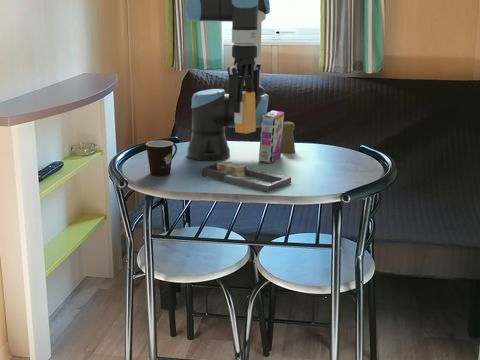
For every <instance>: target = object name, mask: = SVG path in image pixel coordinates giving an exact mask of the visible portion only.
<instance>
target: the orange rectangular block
mask: <svg viewBox="0 0 480 360" xmlns="http://www.w3.org/2000/svg"><path fill="white" fill-rule="evenodd" d="M241 102H243V124H239V123H235V127H234V129H235V130H234V131H235V133H239V134H245V135H247V134H250V133H254V132H256V131H257V127H256V115H255V92H247V91H243V92H242V99H241Z"/></svg>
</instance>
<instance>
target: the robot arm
mask: <svg viewBox="0 0 480 360" xmlns="http://www.w3.org/2000/svg"><path fill="white" fill-rule="evenodd" d="M270 4H271V3H270V0H185V17H186V20H187V21H189V22H196V23H198V22H222V23H223V22H224V23H225V22H231V24H232V26H231V27H232V28H231V43H232V44H233V45H232V46H231V57H232V58H233V59H234V62H233V65H232V66H230V67H229V66H228V67H227V74H228V93H226V90H225V89H223V88H211V89H204V90H200V91H197V92H195V93H193V95H191V96H192V97H191V106H190V109H191V136H190V140H189V143H188V147H187V150H186V153H187V154H186V155H187V157H188V158H189V159H192V160H195V161H196V160H197V161H210V162H211V161H219V160H225V159H227V158H229V157H230V155H231V154H230V153H231V151H230V147H229V145H228V140H227V138H226V135H225V133H226V128H235V123H239V124H243V102H241V99H242V92H243V91H247V92H255V115H256V128H261V122H262V115H264V114H266V113H268V112H267V111H268V105H269V94H267V93H265V88H264V87H263V86H262V85H261V77H262V76H261V73H262V72H261V70H262V69H261V65H262V63H261V62H262V22H264V21H265V20H266V17H267V15H269V14H270V12H271V5H270Z"/></svg>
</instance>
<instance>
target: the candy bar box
mask: <svg viewBox="0 0 480 360" xmlns="http://www.w3.org/2000/svg"><path fill="white" fill-rule="evenodd" d="M284 119H285V112H284V111H280V110H271V111H268V112H266V114H264V115H262V122H261V127H260V138H259V155H258V162H259V163H264V164H273V163H274V162H275V161H277V159H279V158H281V156H282V153H281V147H282V133H283V122H285V121H284Z"/></svg>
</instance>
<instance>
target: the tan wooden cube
mask: <svg viewBox="0 0 480 360" xmlns="http://www.w3.org/2000/svg"><path fill="white" fill-rule="evenodd" d="M244 166H245V165H244V164H239V163H235V162H234V164H231V165H228V166H227V175H228V174H232V175H236V176H240V177H244V178H245V176H244Z"/></svg>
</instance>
